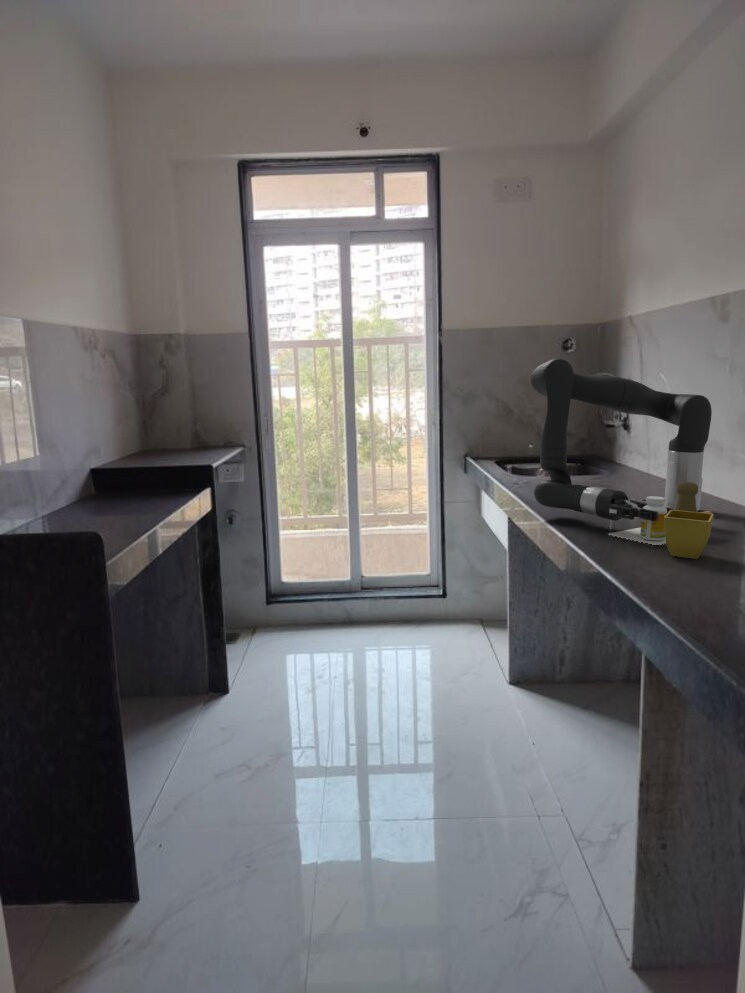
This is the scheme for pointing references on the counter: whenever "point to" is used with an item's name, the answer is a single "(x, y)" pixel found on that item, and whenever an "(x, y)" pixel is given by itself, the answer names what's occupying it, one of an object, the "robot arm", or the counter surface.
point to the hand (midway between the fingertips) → (664, 515)
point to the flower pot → (687, 532)
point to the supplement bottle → (654, 528)
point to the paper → (636, 536)
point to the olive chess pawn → (686, 496)
